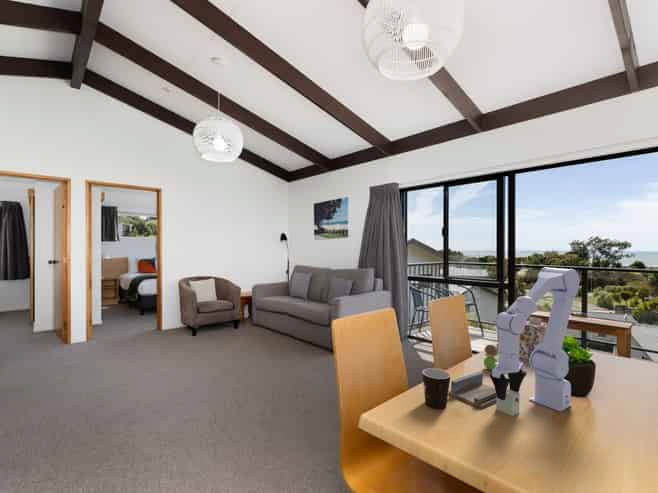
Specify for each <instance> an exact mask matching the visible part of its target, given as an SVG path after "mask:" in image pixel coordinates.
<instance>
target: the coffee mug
mask: <svg viewBox="0 0 658 493" xmlns="http://www.w3.org/2000/svg"><path fill="white" fill-rule="evenodd" d="M421 372H422V383H423V392H424V402H425V405H426V407H428V408H430V409H433V410H444V409H446V408H447V405H448V404H447V403H448V398H449V397H448V396H449V391H450V385H451V383H450V382H451V376H452V375H451V373H450V372H448V371H446V370H444V369H440V368H430V367H429V368H425V369H423V370H422V371H421Z"/></svg>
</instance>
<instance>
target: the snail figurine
mask: <svg viewBox="0 0 658 493" xmlns="http://www.w3.org/2000/svg"><path fill="white" fill-rule="evenodd" d="M498 348H499V343H497V344H496V346H495V345H493V344H487V345H486V346H485V347H484V352H485V354H484V355H485V356H486V357H485V358H484V360H483V365H484V367H485V369H487V370H489V371H492V370H493V369H495V367H496V365H495V363H496V362H498V358H496V357H497V356H498Z"/></svg>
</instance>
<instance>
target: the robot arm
mask: <svg viewBox="0 0 658 493" xmlns="http://www.w3.org/2000/svg"><path fill="white" fill-rule="evenodd" d="M580 281H581V278H580V276H579V274H578V272H577V271H576V270H575V269H574V268H569V269H568V268H557V267H549V266H545V267H543V268H542V269H540V271H539V272H538V273H537V280H536V282H535V283H534V284H533V286H532V287H531V288H530V290H529V291H528V292H527V293H526V295H525V296H524V295H521V296H518V297H517V298H515V299H516V300H515V301H514V302H513V303H512V304H511V305H510V306H509V307H508V308H507V309H506V310H505V311H503V312H500V313H498V314H497V316H496V317H495V320H494V322H493V323H494V326H495V328H496V333H497V335H498V344H499V348H498V355H497V356H498V357H497V361H498V362H496V363H495V365H496V367H495V369H493V370H491V372H490V373H489V377H490V379H491V382H492V383H493V386H494V387H493V388H495V391H496V395H497V398H499V399H501V400H505V398H506V392H507V389H508V387H509V390H512V391H515V392H518V393H520V389H521V386H522V383H523V380H524V379H525V377H526V376H527V371H525V370H524V362H521V361H520V358H519V345H520V333H521V332H522V331H523V330H524V328H525V324H526V321H528V319H529V318H530V316H531V315H532V314H533V313H534V312H535V311H536V310H537V304H536V303H538V302H539V300H541V299H542V298H543V297H544V296H546V295H547V294H548V293H550V294H552V296H553V302H552V304H551V309H550V313H549V317H548V320H547V328H546V332H545V336H544V340H543V343H541V344H539V345H536V346H535V347H534V351H533V352H532V354H531V355H530V358H529V360H528V362H529V366H530V368H532V372H533V373H534V374H535V375H534V395H533V396H531V397H530V398H529V401H531V402H534V403H537V404H539V405H542V406H544V407H547V408H549V409H552V410H555V411H557V412H563V411H564V410H566V409H569V408H570V407H571V406H572V403H571V401H572V400H571V399H572V398H571V397H572V385H571V382H570V381H569V380H567V379H565V377H566V376H567V375H568V373H569V370H570V368H569V358H570V356H568V354H567V353H566V351H565V350H563V348H562V347H563V343H564V340H565V336H566V332H567V329H568V324H569V320H570V317H571V316H570V315H571V312H572V308H573V304H574V299H575V297H576V296H577V295H578V290H579V286H580V283H581V282H580ZM545 353H551V354H553V356H552V355H549V354H545ZM505 375H507V377H508V378H507V377H506V376H505Z"/></svg>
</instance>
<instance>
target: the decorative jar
mask: <svg viewBox="0 0 658 493" xmlns="http://www.w3.org/2000/svg"><path fill="white" fill-rule="evenodd" d="M547 324H548V322H543V321H542V319H541V318H538V317H528V320H527V321H526V324H525V328H524V330H523V331H522V332H521V333H520V345H519V359H522V358H523V359H524V360H527V361H529V358H530V355H531V354H532V352H533V351H534V347H535V346H536V345H539V344H541V343H543V340H544V336H545V332H546V328H547ZM545 354H549V355H551V353H545ZM523 359H522V360H523Z"/></svg>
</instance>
